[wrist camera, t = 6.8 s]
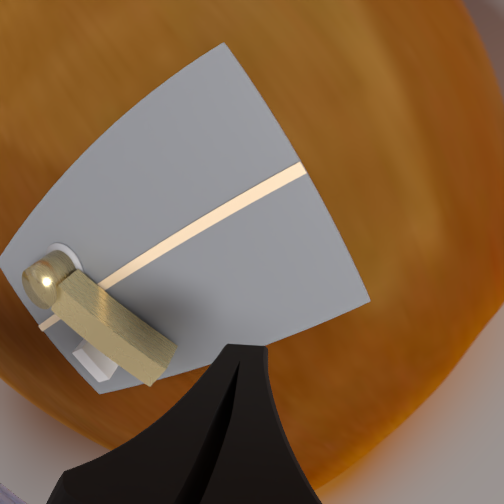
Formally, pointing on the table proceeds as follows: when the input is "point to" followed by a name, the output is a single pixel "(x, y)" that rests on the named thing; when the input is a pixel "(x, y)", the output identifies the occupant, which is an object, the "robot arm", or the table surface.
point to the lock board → (192, 226)
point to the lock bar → (97, 317)
